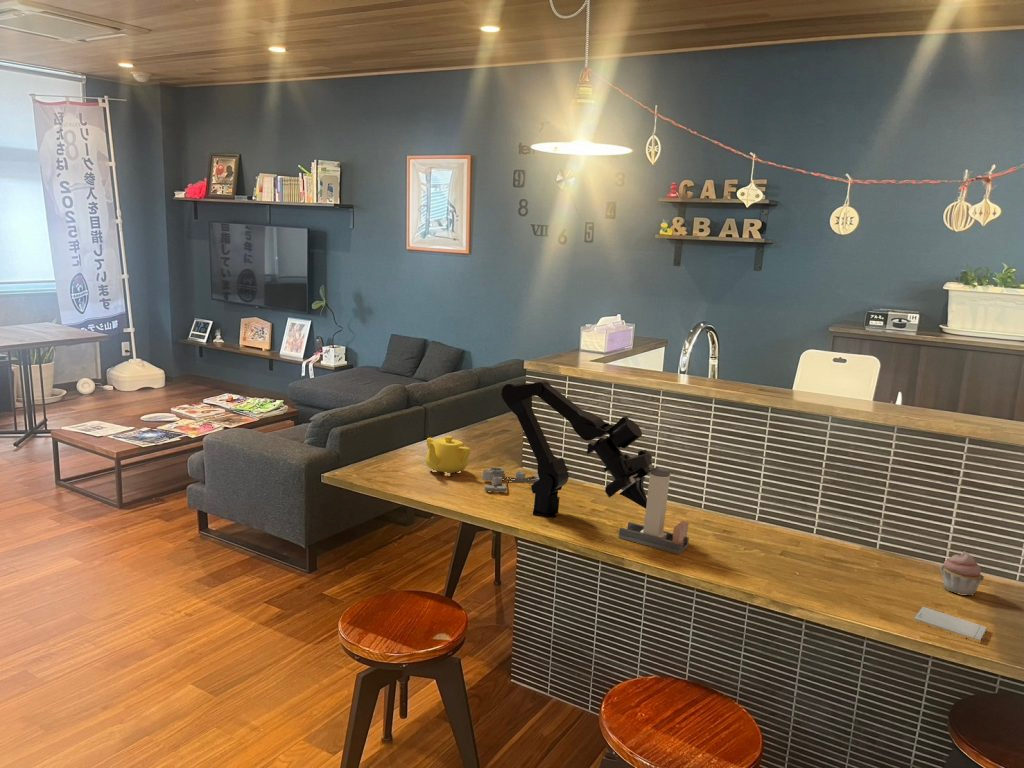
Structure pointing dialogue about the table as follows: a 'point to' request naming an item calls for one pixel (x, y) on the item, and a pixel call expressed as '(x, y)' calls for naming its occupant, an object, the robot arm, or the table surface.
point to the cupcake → (961, 574)
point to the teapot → (447, 455)
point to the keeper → (656, 503)
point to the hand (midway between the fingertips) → (647, 507)
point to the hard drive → (950, 623)
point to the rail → (672, 543)
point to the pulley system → (498, 475)
